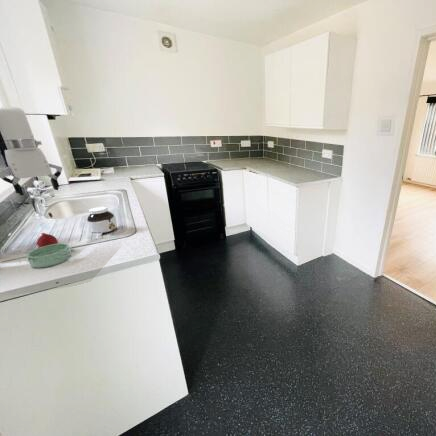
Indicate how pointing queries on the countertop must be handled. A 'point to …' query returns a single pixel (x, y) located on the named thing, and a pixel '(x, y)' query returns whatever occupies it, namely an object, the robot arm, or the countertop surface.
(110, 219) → the spread jar
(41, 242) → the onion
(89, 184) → the countertop surface
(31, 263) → the green shallow round dish
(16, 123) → the robot arm
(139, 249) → the countertop surface
